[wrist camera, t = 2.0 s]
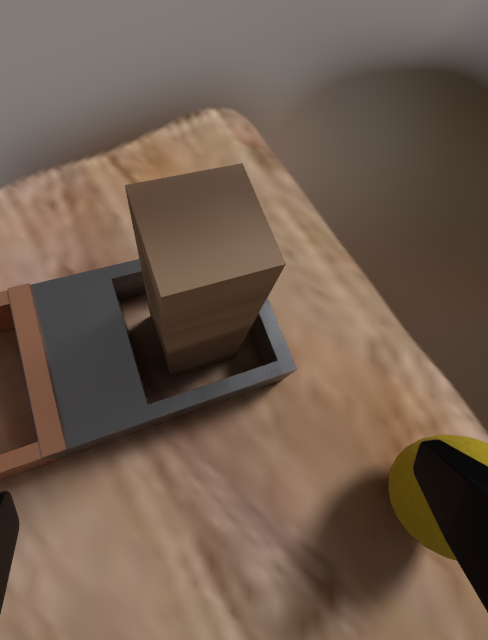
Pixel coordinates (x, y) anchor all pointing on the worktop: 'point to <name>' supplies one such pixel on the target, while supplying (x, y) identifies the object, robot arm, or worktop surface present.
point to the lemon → (411, 499)
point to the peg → (203, 262)
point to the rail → (104, 364)
